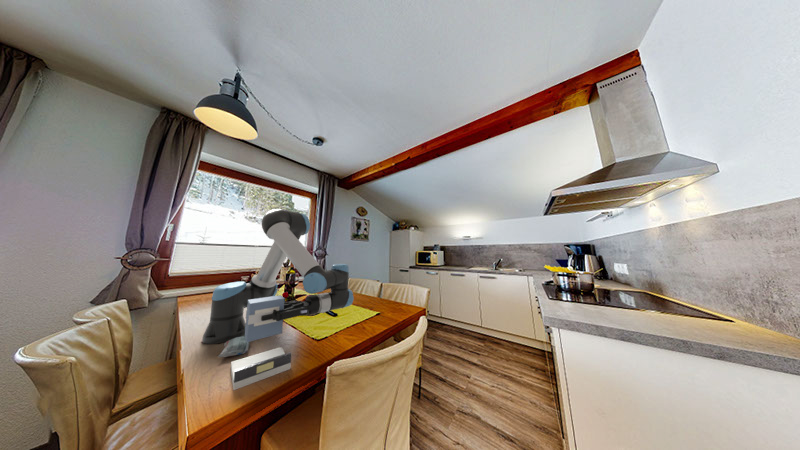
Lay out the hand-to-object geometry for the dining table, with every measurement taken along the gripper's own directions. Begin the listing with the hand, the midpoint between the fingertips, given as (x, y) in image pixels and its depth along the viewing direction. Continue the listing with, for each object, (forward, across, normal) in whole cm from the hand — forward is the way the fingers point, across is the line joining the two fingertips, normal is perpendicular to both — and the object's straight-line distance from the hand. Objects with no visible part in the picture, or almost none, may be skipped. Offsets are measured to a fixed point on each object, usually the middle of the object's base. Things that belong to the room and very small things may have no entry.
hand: (247, 317), depth 66 cm
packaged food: (+1, +19, -18) cm, 26 cm away
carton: (-5, 0, -7) cm, 9 cm away
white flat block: (-5, 0, -18) cm, 19 cm away
